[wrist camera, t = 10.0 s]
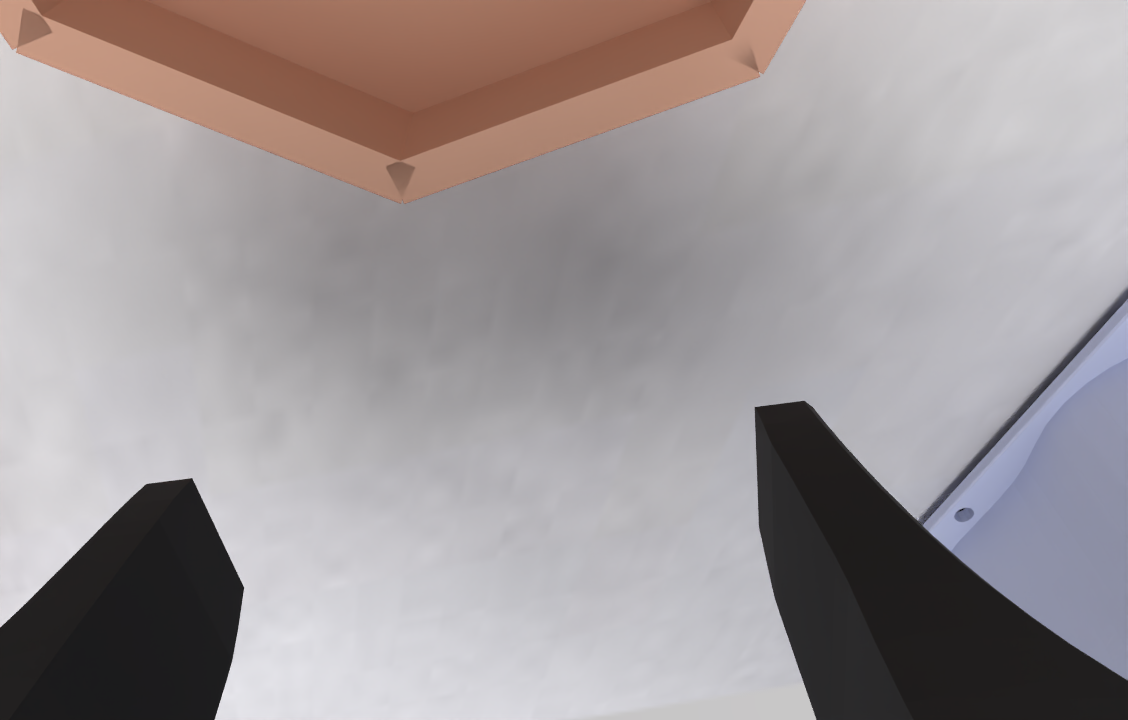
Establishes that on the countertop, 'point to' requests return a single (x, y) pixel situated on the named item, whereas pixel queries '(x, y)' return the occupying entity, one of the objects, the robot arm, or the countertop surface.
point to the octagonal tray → (405, 72)
